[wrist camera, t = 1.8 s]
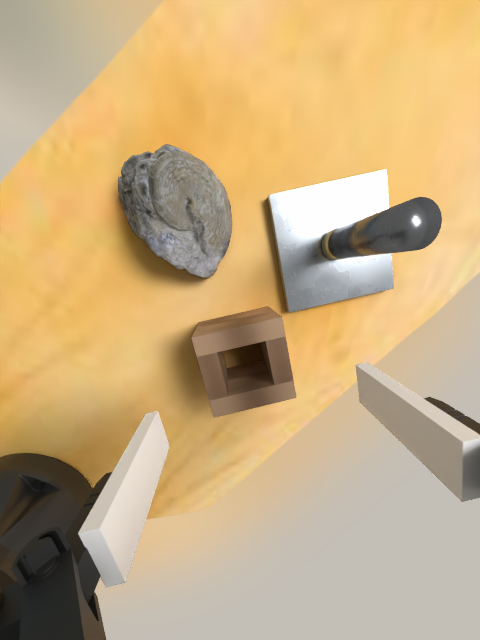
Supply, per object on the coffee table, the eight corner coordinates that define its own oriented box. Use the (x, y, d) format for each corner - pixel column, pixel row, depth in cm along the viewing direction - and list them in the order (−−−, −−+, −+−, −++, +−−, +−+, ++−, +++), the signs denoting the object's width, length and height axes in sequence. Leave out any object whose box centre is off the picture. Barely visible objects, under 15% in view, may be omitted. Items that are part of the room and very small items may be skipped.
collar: (215, 385, 26) (213, 417, 21) (198, 322, 25) (191, 337, 19) (280, 370, 27) (296, 397, 21) (268, 306, 25) (281, 316, 19)
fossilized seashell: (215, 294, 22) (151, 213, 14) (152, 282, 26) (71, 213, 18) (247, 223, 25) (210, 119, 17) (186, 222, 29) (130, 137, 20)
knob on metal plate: (286, 311, 25) (334, 339, 14) (267, 198, 22) (307, 130, 12) (387, 287, 25) (506, 298, 15) (379, 173, 23) (518, 86, 12)
